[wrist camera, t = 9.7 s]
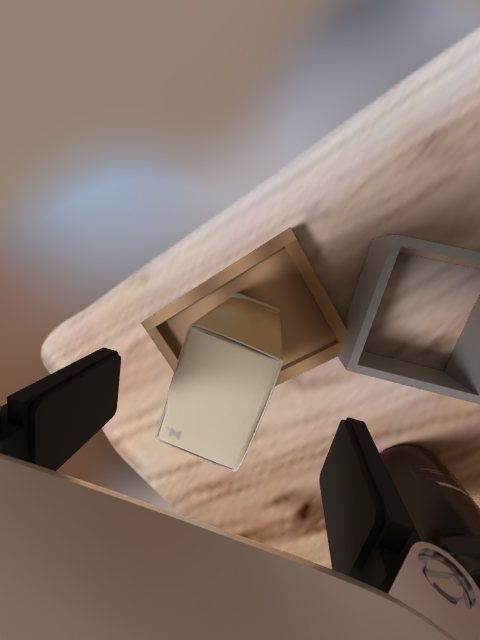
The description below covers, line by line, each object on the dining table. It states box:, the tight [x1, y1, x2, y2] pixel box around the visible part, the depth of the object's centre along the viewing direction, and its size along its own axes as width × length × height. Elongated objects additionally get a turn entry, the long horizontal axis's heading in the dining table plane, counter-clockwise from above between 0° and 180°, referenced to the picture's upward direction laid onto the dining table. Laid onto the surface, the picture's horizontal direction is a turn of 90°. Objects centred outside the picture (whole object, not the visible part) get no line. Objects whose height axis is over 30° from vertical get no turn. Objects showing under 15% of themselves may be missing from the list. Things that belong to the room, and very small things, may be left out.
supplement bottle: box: [380, 446, 480, 590], centre depth 19 cm, size 7×7×12 cm
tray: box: [141, 228, 347, 386], centre depth 23 cm, size 15×11×1 cm
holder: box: [338, 234, 480, 404], centre depth 19 cm, size 10×10×4 cm
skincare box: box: [155, 293, 283, 471], centre depth 17 cm, size 6×4×12 cm
